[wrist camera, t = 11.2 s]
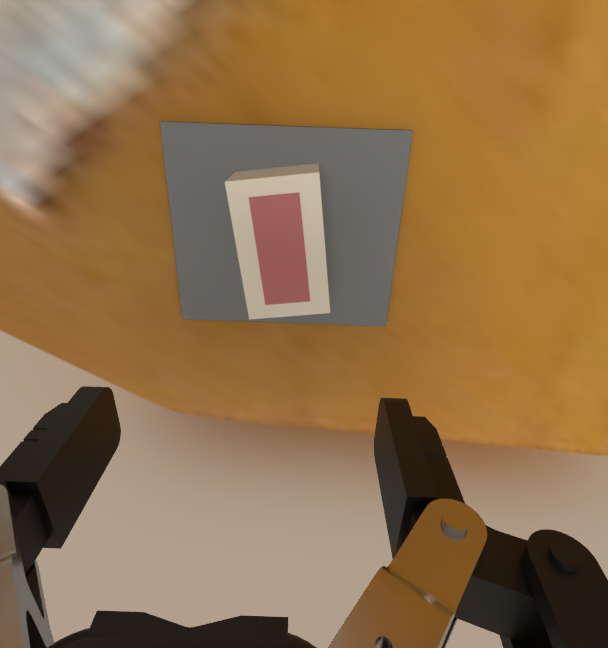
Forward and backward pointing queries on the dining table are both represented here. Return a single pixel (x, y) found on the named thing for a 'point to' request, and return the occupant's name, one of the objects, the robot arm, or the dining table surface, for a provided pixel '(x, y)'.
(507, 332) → the dining table surface
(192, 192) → the mat
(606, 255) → the dining table surface
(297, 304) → the card box
